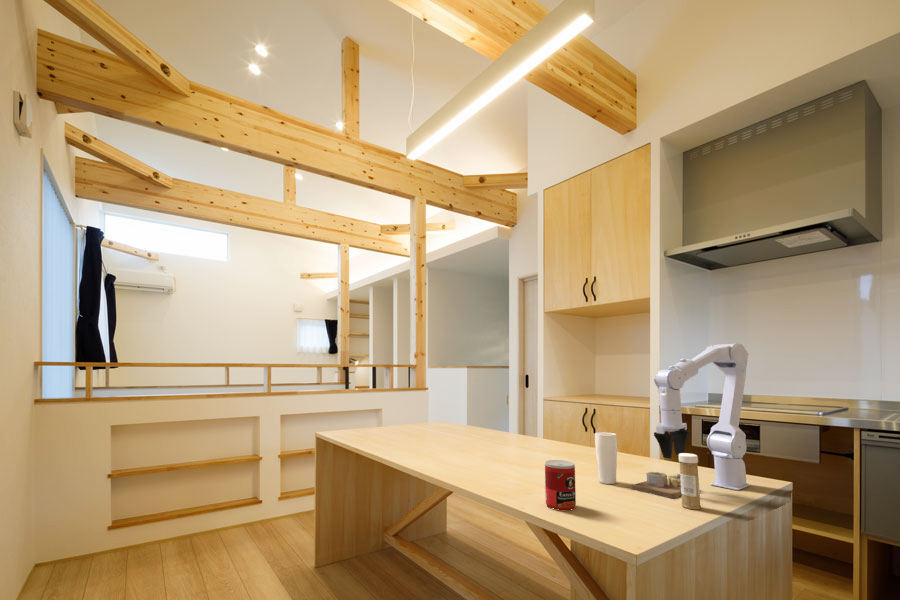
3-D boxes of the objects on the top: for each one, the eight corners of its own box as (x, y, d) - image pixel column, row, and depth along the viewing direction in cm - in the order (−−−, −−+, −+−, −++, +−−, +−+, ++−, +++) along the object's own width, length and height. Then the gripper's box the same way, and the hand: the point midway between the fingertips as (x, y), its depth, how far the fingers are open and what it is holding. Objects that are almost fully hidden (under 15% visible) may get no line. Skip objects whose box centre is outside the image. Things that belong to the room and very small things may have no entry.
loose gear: (653, 482, 142) (652, 471, 142) (670, 485, 138) (669, 474, 138) (644, 484, 138) (643, 473, 139) (661, 488, 134) (660, 477, 135)
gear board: (659, 481, 148) (658, 467, 148) (698, 489, 138) (697, 474, 139) (632, 489, 138) (631, 474, 138) (672, 498, 128) (671, 482, 129)
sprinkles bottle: (704, 508, 120) (701, 454, 122) (695, 511, 117) (691, 456, 119) (687, 503, 124) (684, 452, 125) (677, 506, 121) (674, 453, 123)
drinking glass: (621, 481, 146) (619, 433, 148) (616, 486, 141) (614, 435, 143) (599, 478, 150) (597, 431, 152) (593, 483, 144) (592, 433, 146)
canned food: (559, 512, 115) (558, 467, 117) (539, 504, 122) (538, 461, 124) (582, 508, 119) (581, 464, 120) (561, 500, 126) (560, 458, 127)
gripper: (669, 407, 147) (672, 451, 145) (645, 410, 138) (648, 457, 136) (692, 409, 141) (695, 455, 140) (668, 412, 133) (671, 461, 131)
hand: (673, 456), depth 138 cm, fingers open, 7 cm apart
